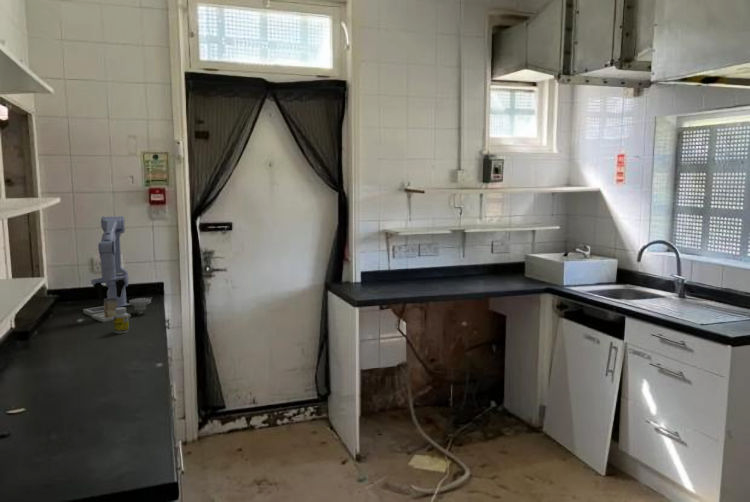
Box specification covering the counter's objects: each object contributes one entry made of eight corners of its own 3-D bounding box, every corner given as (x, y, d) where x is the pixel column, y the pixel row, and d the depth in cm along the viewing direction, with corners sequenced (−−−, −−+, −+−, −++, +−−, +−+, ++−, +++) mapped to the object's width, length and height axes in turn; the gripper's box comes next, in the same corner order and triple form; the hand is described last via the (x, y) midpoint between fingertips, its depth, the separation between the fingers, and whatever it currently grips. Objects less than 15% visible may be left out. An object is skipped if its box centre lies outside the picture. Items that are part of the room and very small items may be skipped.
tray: (92, 318, 253) (91, 314, 253) (118, 313, 262) (118, 310, 262) (103, 322, 245) (103, 319, 245) (130, 317, 254) (130, 314, 254)
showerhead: (152, 299, 259) (129, 301, 254) (153, 314, 260) (130, 316, 255) (151, 295, 267) (128, 297, 263) (152, 310, 268) (129, 312, 264)
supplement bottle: (111, 332, 229) (110, 309, 228) (122, 329, 234) (120, 306, 233) (121, 334, 227) (120, 310, 226) (132, 330, 232) (130, 307, 231)
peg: (104, 316, 253) (103, 299, 252) (113, 315, 256) (112, 297, 255) (108, 318, 250) (107, 300, 249) (117, 316, 253) (116, 298, 252)
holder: (83, 313, 262) (83, 309, 262) (105, 309, 269) (105, 305, 269) (92, 316, 255) (91, 312, 255) (114, 312, 263) (114, 309, 262)
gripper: (95, 271, 242) (97, 302, 244) (128, 267, 253) (130, 296, 255) (88, 269, 247) (90, 299, 249) (121, 265, 258) (123, 294, 260)
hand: (110, 298), depth 252 cm, fingers open, 7 cm apart
